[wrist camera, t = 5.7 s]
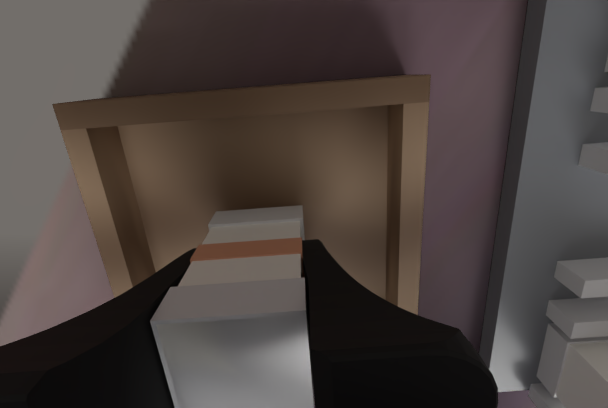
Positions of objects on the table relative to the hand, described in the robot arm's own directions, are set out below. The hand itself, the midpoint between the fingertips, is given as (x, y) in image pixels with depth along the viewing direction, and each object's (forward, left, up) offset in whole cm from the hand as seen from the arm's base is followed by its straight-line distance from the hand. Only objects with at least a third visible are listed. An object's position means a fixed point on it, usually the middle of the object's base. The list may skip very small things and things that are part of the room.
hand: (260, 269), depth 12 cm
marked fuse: (0, 0, -2) cm, 2 cm away
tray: (0, 0, -3) cm, 3 cm away
